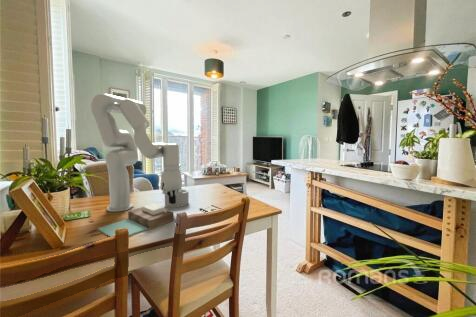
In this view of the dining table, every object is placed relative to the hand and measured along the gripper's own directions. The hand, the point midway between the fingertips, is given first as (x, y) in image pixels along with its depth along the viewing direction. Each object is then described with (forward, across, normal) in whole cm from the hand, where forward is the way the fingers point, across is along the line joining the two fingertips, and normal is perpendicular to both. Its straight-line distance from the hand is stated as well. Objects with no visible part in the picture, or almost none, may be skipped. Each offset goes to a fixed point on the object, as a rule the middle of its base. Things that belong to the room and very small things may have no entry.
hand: (172, 203), depth 111 cm
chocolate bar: (+6, -15, +17) cm, 23 cm away
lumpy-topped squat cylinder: (+5, -10, -10) cm, 15 cm away
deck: (+5, +12, 0) cm, 13 cm away
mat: (+5, +25, 0) cm, 26 cm away
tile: (+1, +11, 0) cm, 11 cm away
